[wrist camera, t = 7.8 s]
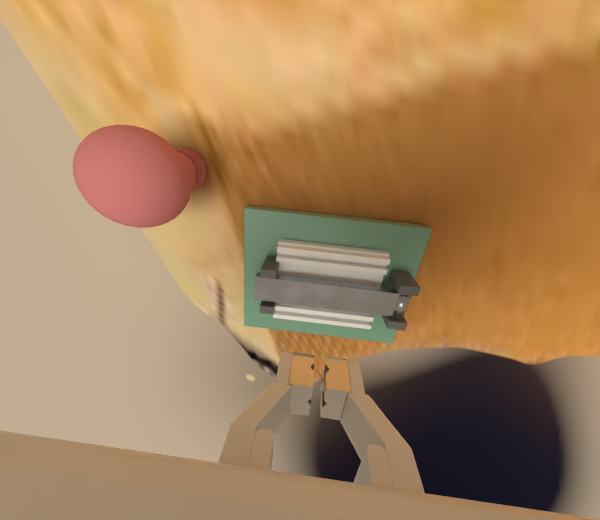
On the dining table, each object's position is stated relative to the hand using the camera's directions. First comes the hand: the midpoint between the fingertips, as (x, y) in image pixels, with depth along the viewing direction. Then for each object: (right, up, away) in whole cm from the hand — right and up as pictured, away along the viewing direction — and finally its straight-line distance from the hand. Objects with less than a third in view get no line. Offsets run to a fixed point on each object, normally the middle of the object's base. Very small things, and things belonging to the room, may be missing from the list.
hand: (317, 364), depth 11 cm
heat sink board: (+3, +3, +19) cm, 19 cm away
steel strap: (+3, +1, +16) cm, 16 cm away
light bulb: (-12, +14, +15) cm, 24 cm away
